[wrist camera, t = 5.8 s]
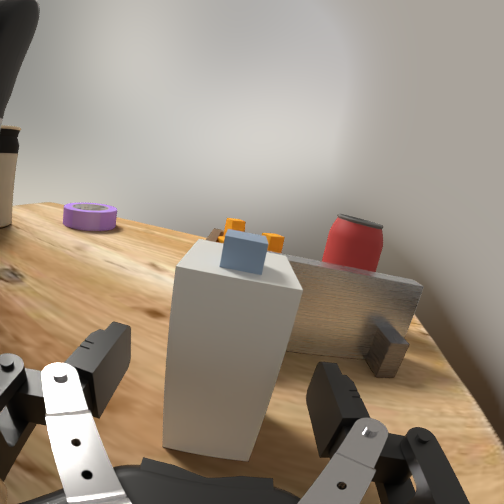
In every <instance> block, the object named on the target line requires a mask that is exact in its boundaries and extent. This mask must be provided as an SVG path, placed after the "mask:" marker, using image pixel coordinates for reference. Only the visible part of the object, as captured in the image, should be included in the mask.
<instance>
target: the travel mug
mask: <svg viewBox="0 0 504 504" xmlns="http://www.w3.org/2000/svg"><path fill="white" fill-rule="evenodd" d="M20 130H21V128H20V127H15V126H5V125H4V126H3V125H1V129H0V228H2V227H6V226H8V225H9V224H11V223H12V203H13V190H14V179H15V171H16V163H17V156H18V150H19V143H18V139H17V137H18V134H19V132H20Z"/></svg>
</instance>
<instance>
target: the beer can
mask: <svg viewBox="0 0 504 504" xmlns="http://www.w3.org/2000/svg"><path fill="white" fill-rule="evenodd" d="M337 216H338V218H337V219H336V221H335V222H334V224H333V225H332V227H331V229H330V231H329V235H328V239H327V243H326V247H325V251H324V255H323V259H322V262H327V263H332V264H337V265H342V266H347V267H352V268H357V269H362V270H367V271H372V272H376V268H377V265H378V261H379V258H380V254H381V251H382V247H383V234H382V228H383V226H382V225H380V224H376V223H373V222H370V221H367V220H363V219H359V218H355V217H352V216H347V215H343V214H338V215H337Z"/></svg>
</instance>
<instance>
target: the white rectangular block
mask: <svg viewBox="0 0 504 504" xmlns="http://www.w3.org/2000/svg"><path fill="white" fill-rule="evenodd" d="M267 248H268V241H267V238H266V236H262V235H257V234H252V233H247V232H242V231H237V230H232V229H228V230H227V232H226V235H225V239H224V244H223V243H218V242H212V241H207V240H202V239H198V241H197V242H196V243H195V244H194V245H193V246H192V248H191V249H190V250H189V251H188V252H187V254H186V255H185V256H184V257H183V258H182V260H181V261H180V262H179V263H178V264H177V266H176V270H175V278H174V286H173V295H172V304H171V313H170V323H169V333H168V345H167V357H166V371H165V388H164V409H163V447H166V448H170V449H175V450H179V451H184V452H189V453H194V454H199V455H205V456H211V457H217V458H224V459H231V460H239V461H249V458H250V455H251V453H252V450H253V447H254V445H255V442H256V439H257V436H258V433H259V431H260V428H261V425H262V422H263V419H264V416H265V413H266V411H267V408H268V405H269V402H270V399H271V396H272V393H273V390H274V386H275V383H276V380H277V377H278V374H279V371H280V368H281V364H282V361H283V358H284V355H285V351H286V348H287V345H288V342H289V338H290V335H291V331H292V328H293V324H294V321H295V317H296V314H297V310H298V307H299V303H300V300H301V296H302V292H303V289H302V287H301V285H300V283H299V281H298V279H297V277H296V275H295V273H294V271H293V269H292V267H291V265H290V263H289V261H288V259H287V257H286V256H284V255H279V254H274V253H269V252H267Z"/></svg>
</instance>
